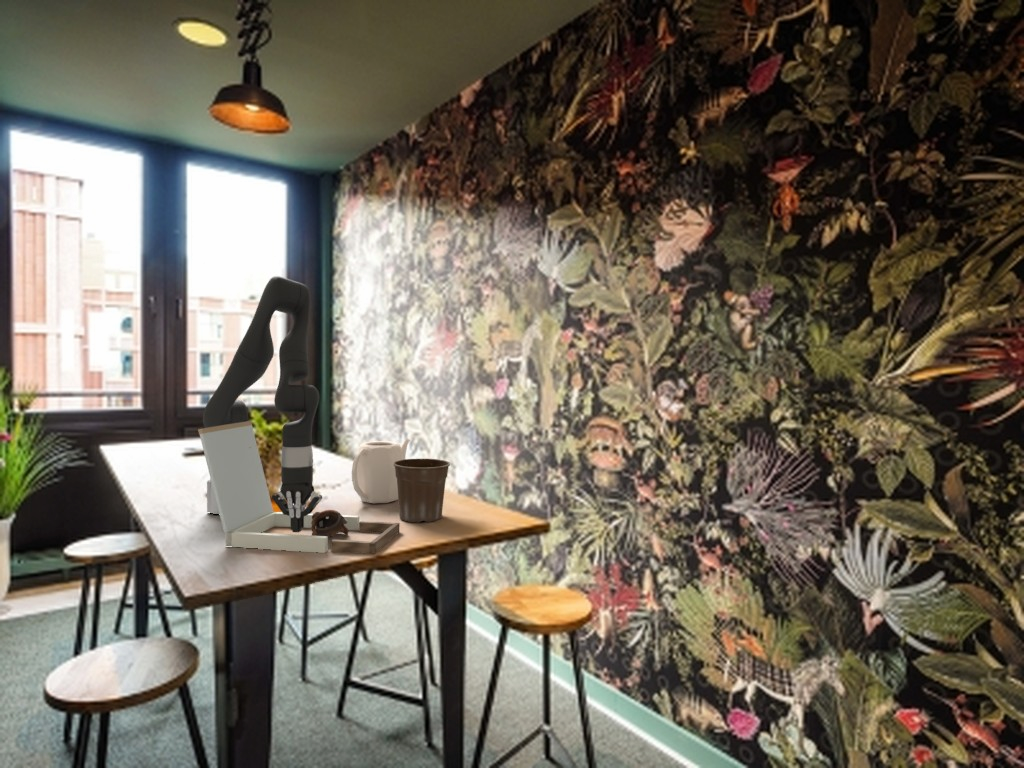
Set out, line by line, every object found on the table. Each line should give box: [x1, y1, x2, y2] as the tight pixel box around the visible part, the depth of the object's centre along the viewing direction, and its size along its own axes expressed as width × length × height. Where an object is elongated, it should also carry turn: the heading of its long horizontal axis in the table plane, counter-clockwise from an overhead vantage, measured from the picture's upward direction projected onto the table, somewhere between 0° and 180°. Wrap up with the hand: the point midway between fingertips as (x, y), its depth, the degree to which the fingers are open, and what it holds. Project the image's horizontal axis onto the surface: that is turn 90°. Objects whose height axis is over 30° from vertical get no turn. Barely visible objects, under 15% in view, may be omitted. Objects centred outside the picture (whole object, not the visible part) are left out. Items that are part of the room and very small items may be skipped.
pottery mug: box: [310, 509, 349, 539], centre depth 152 cm, size 12×10×8 cm
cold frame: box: [197, 420, 360, 554], centre depth 152 cm, size 32×21×28 cm, turn 82°
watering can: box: [351, 438, 410, 505], centre depth 196 cm, size 16×27×19 cm, turn 150°
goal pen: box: [330, 520, 400, 555], centre depth 150 cm, size 11×18×2 cm, turn 172°
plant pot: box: [393, 458, 451, 523], centre depth 174 cm, size 16×16×16 cm
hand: (297, 531), depth 152 cm, fingers closed
